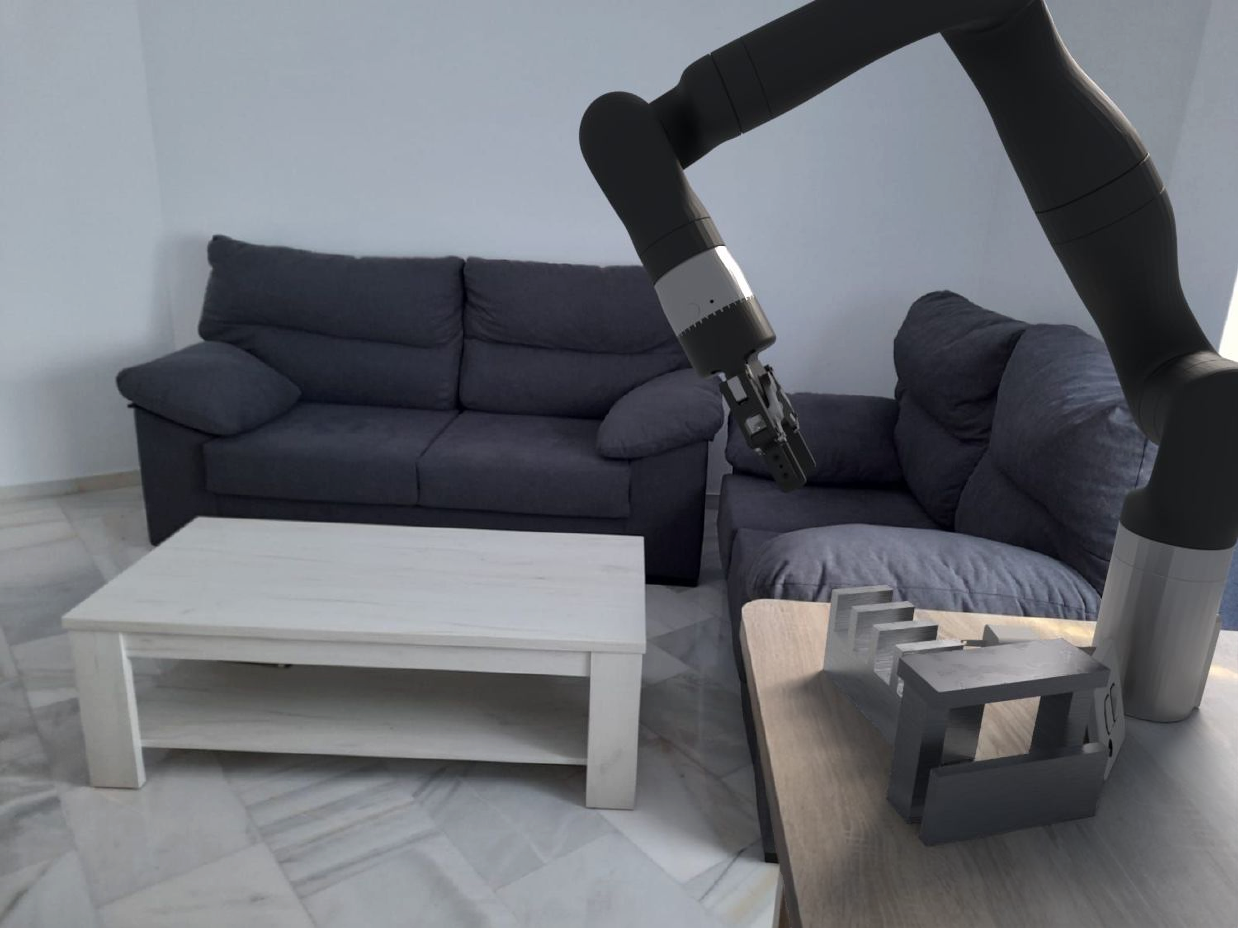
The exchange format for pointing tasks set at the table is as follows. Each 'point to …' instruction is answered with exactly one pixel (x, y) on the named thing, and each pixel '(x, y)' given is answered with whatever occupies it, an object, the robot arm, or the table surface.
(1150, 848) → the table surface
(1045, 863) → the table surface
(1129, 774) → the table surface
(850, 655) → the heatsink block
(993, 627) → the usb wall charger
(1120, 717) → the electrical switch
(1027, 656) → the grey open box frame
